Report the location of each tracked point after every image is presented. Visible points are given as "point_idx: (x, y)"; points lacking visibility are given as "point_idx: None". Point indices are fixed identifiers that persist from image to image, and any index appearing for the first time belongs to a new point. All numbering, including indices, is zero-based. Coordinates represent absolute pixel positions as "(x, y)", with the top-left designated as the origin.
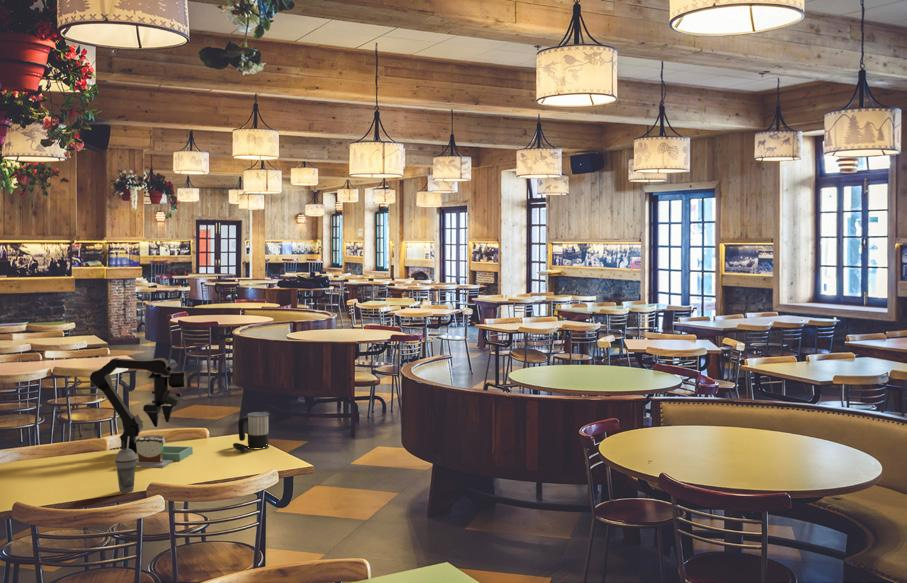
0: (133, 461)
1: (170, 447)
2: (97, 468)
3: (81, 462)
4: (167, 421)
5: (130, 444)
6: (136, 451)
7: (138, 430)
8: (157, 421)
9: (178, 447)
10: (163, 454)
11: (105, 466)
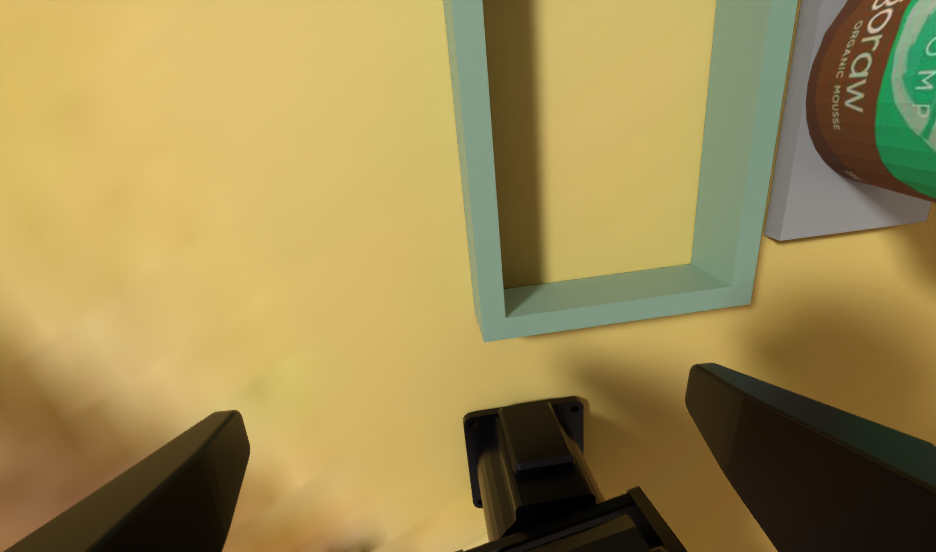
0: None
1: (490, 125)
2: (907, 394)
3: (758, 548)
4: (237, 433)
5: (594, 482)
6: (550, 406)
7: (665, 550)
8: (817, 415)
9: (481, 11)
10: (785, 23)
11: (866, 380)
